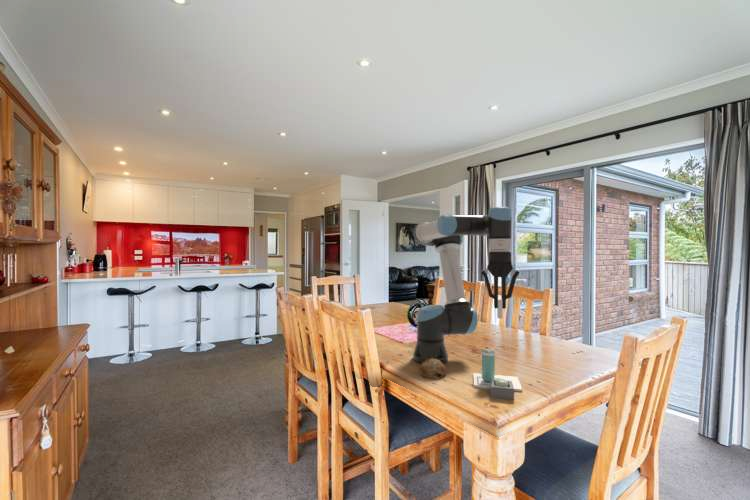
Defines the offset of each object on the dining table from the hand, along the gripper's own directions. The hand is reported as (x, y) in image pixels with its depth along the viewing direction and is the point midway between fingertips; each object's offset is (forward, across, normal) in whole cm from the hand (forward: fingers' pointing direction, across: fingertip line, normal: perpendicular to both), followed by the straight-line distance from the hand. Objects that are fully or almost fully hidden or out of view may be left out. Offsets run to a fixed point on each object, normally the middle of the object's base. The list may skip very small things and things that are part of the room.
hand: (499, 317), depth 124 cm
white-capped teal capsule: (+24, -4, +2) cm, 24 cm away
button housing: (+24, 0, -7) cm, 25 cm away
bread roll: (+25, -24, +6) cm, 35 cm away
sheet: (+24, -1, +3) cm, 25 cm away
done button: (+24, 0, -7) cm, 25 cm away
